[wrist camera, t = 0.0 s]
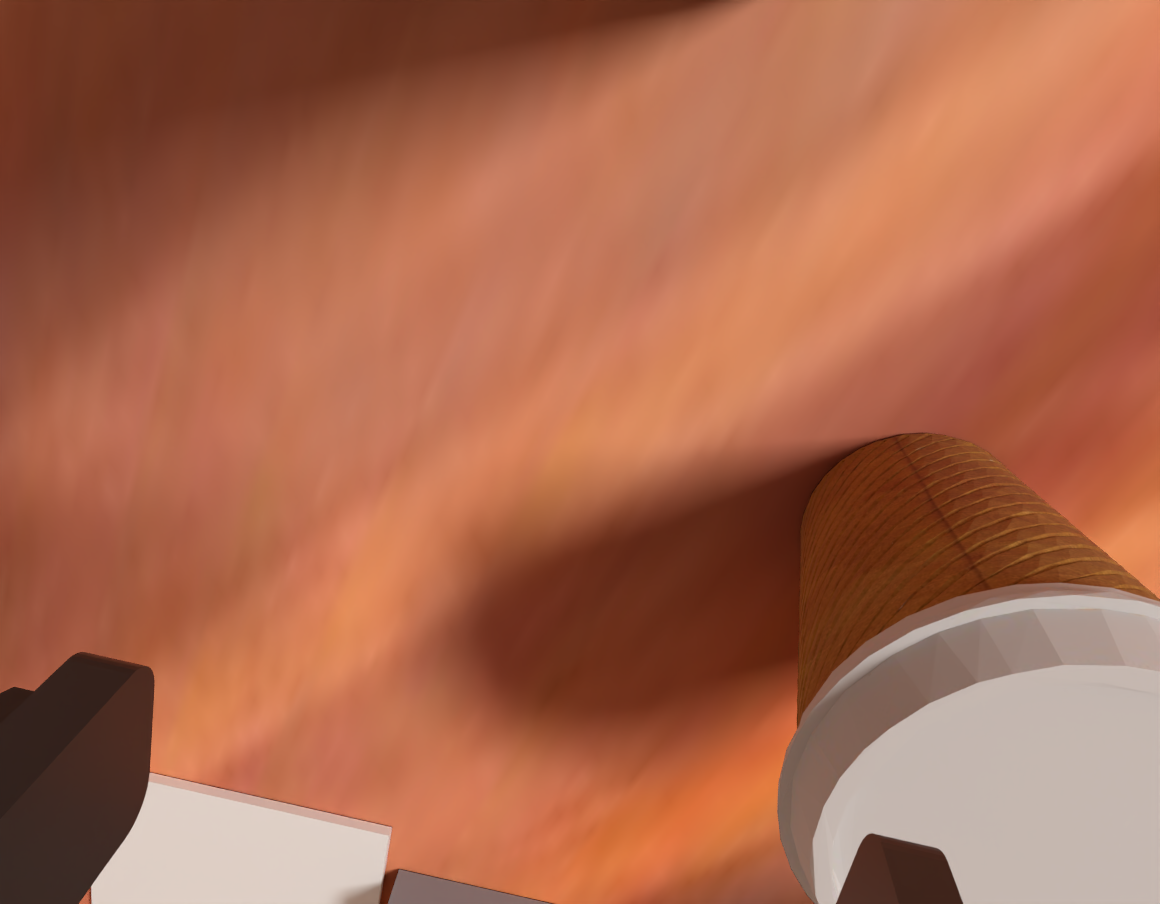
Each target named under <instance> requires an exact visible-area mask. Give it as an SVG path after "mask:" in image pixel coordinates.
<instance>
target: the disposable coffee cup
mask: <svg viewBox="0 0 1160 904" xmlns="http://www.w3.org/2000/svg"><path fill="white" fill-rule="evenodd" d="M800 535H801V562H800V600H799V645H798V695H797V731H796V732H795V734H794V736H793V738H792V740H791V742H790V744H789V746H788V748H787V750H786V754H785V758H784V763H783V767H782V771H781V775H780V779H779V786H778V811H777V812H778V821H779V830H780V839H781V842H782V845H783V847H784V850H785V853H786V856H787V859H788V861H789V864H790V867H791V870H792V871H793V873H794V875H795V876H796V878H797V880H798V881H799V883H800V884H801V886H802V888H803V889H804V891H805V892H806V894H807V896H808V897H809V898H810V899H811V900H812V901H813V902H814V903H815V904H836V902H837V900H838V897H839V895H840V892H841V890H842V887H843V885H844V882H845V880H846V877H847V875H848V872H849V870H850V867H851V865H852V863H853V860H854V858H855V855H856V853H857V850H858V848H859V846H860V844H861V842H862V840H863V839H864V838H865V837H866V835H868V834H871V833H873V834H878V835H882V836H887V837H891V838H895V839H900V840H904V841H909V842H913V843H917V844H922V845H926V846H931V847H935V848H938V849H940V850H941V851H942V852H943V854H944V855H945V857H946V859H947V861H948V864H949V866H950V869H951V872H952V874H953V877H954V880H955V883H956V885H957V888H958V891H959V893H960V896H961V899H962V902H963V904H1160V599H1159V598H1157V597H1156V595H1155V594H1153V593H1152V592H1151V591H1150V590H1148V589H1147V588H1146V587H1145V586H1143V585H1142V584H1141V583H1140V582H1139V581H1138V580H1137V579H1136V578H1135V577H1133V576H1132V575H1131V574H1130V573H1128V572H1127V571H1126V570H1125V569H1124V568H1123V567H1122V566H1121V565H1119V564H1118V563H1117V562H1116V561H1114V560H1113V559H1112V558H1111V557H1109V555H1108V554H1107V553H1105V552H1104V551H1103V550H1102V549H1100V548H1099V547H1098V546H1097V545H1095V544H1094V543H1093V542H1092V541H1091V540H1089V539H1088V538H1087V537H1086V536H1085V535H1084V534H1083V533H1082V532H1080V531H1079V530H1078V529H1077V528H1076V527H1074V526H1073V525H1072V524H1071V523H1070V522H1069V521H1068V520H1067V519H1066V518H1065V517H1063V516H1062V515H1061V514H1060V513H1058V512H1057V511H1056V510H1055V509H1053V508H1052V507H1051V506H1050V505H1049V504H1047V502H1045V501H1044V500H1043V499H1042V498H1041V497H1039V496H1038V495H1037V494H1036V493H1035V492H1034V491H1032V490H1031V489H1030V488H1029V487H1028V486H1026V485H1025V484H1024V483H1023V482H1022V481H1021V480H1020V479H1018V478H1017V477H1016V476H1015V475H1014V474H1012V473H1011V472H1010V471H1009V470H1008V469H1007V468H1006V467H1005V466H1004V465H1003V464H1002V463H1000V462H999V461H998V460H997V459H996V458H995V457H993V456H992V455H991V454H990V453H989V452H987V451H985V450H983V449H981V448H980V447H978V446H976V445H974V444H972V443H970V442H967V441H964V440H960V439H956V438H953V437H949V436H946V435H938V434H929V433H921V434H905V435H900V436H896V437H892V438H888V439H884V440H881V441H877V442H874V443H872V444H870V445H867V446H865V447H863V448H860V449H858V450H857V451H855V452H854V453H852V454H851V455H849V456H848V457H846V458H845V459H843V460H841V461H840V462H839V463H838V464H837V465H836V466H835V467H834V468H833V469H832V470H830V471H829V472H828V473H827V474H826V475H825V476H824V478H823V479H822V480H821V482H820V483H819V484H818V486H817V487H816V489H815V490H814V491H813V493H812V495H811V498H810V500H809V502H808V505H807V507H806V510H805V512H804V514H803V519H802V524H801V529H800Z"/></svg>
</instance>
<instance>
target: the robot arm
mask: <svg viewBox="0 0 1160 904" xmlns="http://www.w3.org/2000/svg"><path fill="white" fill-rule="evenodd" d="M153 701H154V675H153V672H152V670H151V668H149V667H147V666H143V665H139V664H134V663H130V662H125V661H121V660H117V659H112V658H108V657H103V656H99V655H95V654H90V653H86V652H80V653H77V654H75V655H73V656H72V657H70V658H69V659H68V660H67V661H66V662H65V663H64V664H63V665H62V666H61V667H59V668H58V669H57V670H56V671H55V672H54V673H53V674H52V675H51V676H50V677H49V678H48V679H47V680H46V681H45V682H44V683H43V684H42V685H41V686H40V687H38V688H37V689H36V690H35V691H30V690H25V689H21V688H17V687H13V688H11V689H9V690H6V691H4V692H2V693H0V904H79V902H80V901H81V899H82V898H83V897H84V895H85V894H86V893H87V891H88V890H89V888H90V887H91V886H92V884H93V883H94V881H95V880H96V879H97V877H98V876H99V875H100V873H101V872H102V870H103V869H104V868H105V866H106V865H107V863H108V862H109V861H110V859H111V858H112V857H113V855H114V854H115V852H116V851H117V850H118V848H119V847H120V845H121V844H122V843H123V841H124V840H125V838H126V837H127V835H128V834H129V832H130V831H131V829H132V827H133V825H134V823H135V821H136V819H137V817H138V815H139V812H140V810H141V807H142V804H143V802H144V798H145V795H146V791H147V787H148V782H149V774H150V755H151V737H152V719H153ZM836 904H963V902H962V899H961V896H960V893H959V891H958V888H957V885H956V883H955V880H954V877H953V874H952V872H951V869H950V866H949V864H948V861H947V859H946V857H945V855H944V854H943V852H942V851H941V850H940V849H938V848H935V847H931V846H926V845H922V844H917V843H913V842H909V841H904V840H900V839H895V838H891V837H887V836H882V835H878V834H873V833H871V834H868V835H866V837H865V838H864V839H863V840H862V842H861V844H860V846H859V848H858V850H857V853H856V855H855V858H854V860H853V863H852V865H851V867H850V870H849V872H848V875H847V877H846V880H845V882H844V885H843V887H842V890H841V892H840V895H839V897H838V900H837V902H836Z"/></svg>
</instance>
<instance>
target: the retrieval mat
mask: <svg viewBox="0 0 1160 904" xmlns="http://www.w3.org/2000/svg"><path fill="white" fill-rule="evenodd" d="M391 831H392V827H389V826H384V825H380V824H376V823H371V822H367V821H362V820H358V819H354V818H349V817H345V816H340V815H336V814H331V813H327V812H323V811H318V810H314V809H309V808H305V807H300V806H296V805H292V804H287V803H283V802H278V801H274V800H270V799H265V798H261V797H256V796H252V795H247V794H243V793H239V792H234V791H230V790H225V789H221V788H216V787H212V786H208V785H203V784H199V783H194V782H190V781H186V780H181V779H177V778H172V777H168V776H163V775H159V774H155V773H150V774H149V782H148V787H147V791H146V795H145V798H144V802H143V804H142V807H141V810H140V812H139V815H138V817H137V819H136V821H135V823H134V825H133V827H132V829H131V831H130V832H129V834H128V835H127V837H126V838H125V840H124V841H123V843H122V844H121V845H120V847H119V848H118V850H117V851H116V852H115V854H114V855H113V857H112V858H111V859H110V861H109V862H108V863H107V865H106V866H105V868H104V869H103V870H102V872H101V873H100V875H99V876H98V877H97V879H96V880H95V881H94V883H93V884H92V886H91V899H92V904H380V900H381V894H382V887H383V881H384V875H385V869H386V862H387V856H388V850H389V844H390V837H391Z"/></svg>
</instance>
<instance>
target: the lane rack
mask: <svg viewBox="0 0 1160 904" xmlns="http://www.w3.org/2000/svg"><path fill="white" fill-rule="evenodd" d="M388 904H550V903H546V902H542V901H537V900H533V899H528V898H524V897H520V896H515V895H511V894H506V893H502V892H497V891H493V890H489V889H484V888H480V887H475V886H471V885H467V884H462V883H458V882H453V881H449V880H444V879H440V878H436V877H431V876H427V875H422V874H418V873H413V872H409V871H405V870H400V869H399V871H398V874H397V877H396V880H395V883H394V886H393V889H392V892H391V895H390V898H389V901H388Z"/></svg>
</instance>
